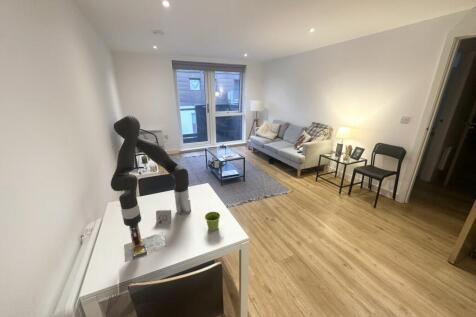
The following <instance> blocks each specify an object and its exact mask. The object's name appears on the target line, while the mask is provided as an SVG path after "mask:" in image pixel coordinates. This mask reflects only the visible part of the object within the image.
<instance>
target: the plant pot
mask: <svg viewBox="0 0 476 317" xmlns="http://www.w3.org/2000/svg"><path fill="white" fill-rule="evenodd" d="M220 218H221V213H219V212H217V211H209V212H207V213H206V214H205V215H204V220H205V221H206V225H207V228H208V231H210V232H211V231H212V232H213V231H217V230H218V228H219V223H220Z"/></svg>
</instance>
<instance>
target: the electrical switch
mask: <svg viewBox="0 0 476 317" xmlns="http://www.w3.org/2000/svg"><path fill="white" fill-rule="evenodd" d="M155 224H172V209H159V210H158V209H157V210H156V211H155Z"/></svg>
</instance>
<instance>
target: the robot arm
mask: <svg viewBox="0 0 476 317" xmlns="http://www.w3.org/2000/svg"><path fill="white" fill-rule="evenodd" d="M113 129H114V131H115V133H116V134H117V135H118V136H119V137H120V138H122V139H124V140H123V142H122V145H121V147H120V148H119V150H118V154H117V164H116V168H115V171H114V174H112V178H111V180H110V188H111V189H112V190H113V191H115V192H123V191H127V192H124V193H122V194H120V196H119V197H118V199H119V204H120V211H121V216H122V221H123V224H124V225H125V226H127V227H129V232H130V231H131V232H130V237H131V236H132V238H133V241H134V243H135V246H137V245H140V241H139V230H140V226H139V224H140V222H142V221H141V220H142V216H141V215H142V214H141V209H140V206H139V204H138V203H139V202H138V197H137V188H138V182H139V181H138V180H139V179H138V177H137V176H136V175H135V174H132V173H131V172H133V171H134V169H135V154H136V148H137V149H138V150H140V151H141V153H143V154H144V155H145V156H146V157H147V158H148V159H150V160H151V161H153V162H154V164H157V165H158V166H160V167H161V168H163V169H164V170H165V171H166V172H167V173H168V174H169V175H170V177H171V178H173V179H174V185H173V193H174V201H175V207H176V208H175V210H176V213H177V214H179V215H185V214H188V213H190V212H191V211H192V206H191V199H190V194H189V185H190V184H189V182H190V181H189V177H190V176H189V173H188V170H187V168H185V167H183V166H182V165H180V164H178V163H177V162H175V161H174V160H173V159H172V158H171V157H170V155H169V153H168V152H167V151H166V150H165V149H164V148H163V147H162V146H161V145H159V144H158V143H157V142H155V141H152V140H148V139H147V138H143V137H141V136H139V134H140V131H141V123H140V121H139V120H138V118H137V117H135V116H133V115H127V116H124V117H123V118H120V119H119V120H117V121H116V122H114V124H113ZM127 173H131V174H127ZM137 231H138V232H137Z"/></svg>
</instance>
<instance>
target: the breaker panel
mask: <svg viewBox="0 0 476 317" xmlns="http://www.w3.org/2000/svg"><path fill="white" fill-rule="evenodd" d="M141 240H142V245H140V246H137V247H133V244H132V241H131V242H129V243H126V244H124V245H123V247H124V248H123V250H124V262H125V263H127V262H130V261H131V260H135V259H138V258H141V257H143V256H146V255H148V254H151V253H155V252H157V251H159V250H162V249H164V248H167V247H168V245H167V242H166V239H165V235H164V232H159V233H155V234H152V235H150V236H146V237H144V238H141Z"/></svg>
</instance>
